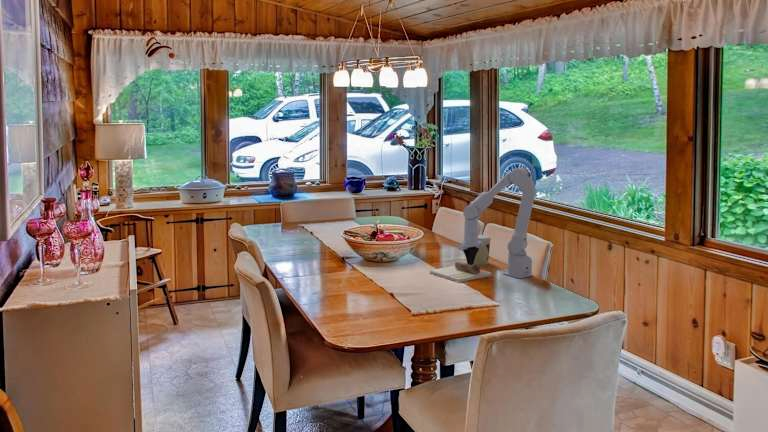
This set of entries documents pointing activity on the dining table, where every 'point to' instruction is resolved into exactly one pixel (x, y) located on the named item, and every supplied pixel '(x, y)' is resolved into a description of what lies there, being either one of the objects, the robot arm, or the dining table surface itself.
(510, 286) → the dining table surface
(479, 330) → the dining table surface
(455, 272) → the latch board
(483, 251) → the coffee cup
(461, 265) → the bar
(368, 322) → the dining table surface
